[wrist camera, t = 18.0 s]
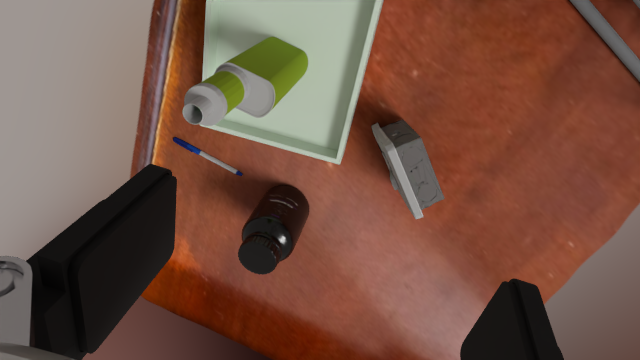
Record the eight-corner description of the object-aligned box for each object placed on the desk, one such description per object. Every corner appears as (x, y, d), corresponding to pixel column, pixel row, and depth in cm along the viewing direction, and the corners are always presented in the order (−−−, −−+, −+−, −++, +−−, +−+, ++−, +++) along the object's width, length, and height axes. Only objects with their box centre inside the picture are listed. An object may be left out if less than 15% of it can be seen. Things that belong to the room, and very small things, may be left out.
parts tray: (221, -57, 43) (209, -58, 41) (388, -17, 42) (385, -15, 39) (210, 117, 53) (199, 125, 51) (343, 154, 52) (339, 164, 49)
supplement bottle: (299, 178, 55) (271, 230, 45) (317, 219, 58) (295, 277, 48) (255, 189, 57) (219, 241, 47) (274, 228, 60) (245, 285, 50)
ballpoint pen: (174, 140, 57) (170, 143, 56) (175, 135, 56) (171, 138, 55) (242, 175, 57) (239, 178, 56) (244, 170, 57) (241, 173, 56)
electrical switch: (370, 123, 49) (369, 153, 41) (411, 106, 48) (419, 134, 40) (397, 187, 53) (401, 227, 45) (437, 173, 51) (449, 212, 43)
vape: (264, 31, 46) (172, 79, 29) (312, 54, 46) (250, 116, 29) (254, 61, 48) (162, 123, 31) (301, 84, 48) (235, 158, 31)
